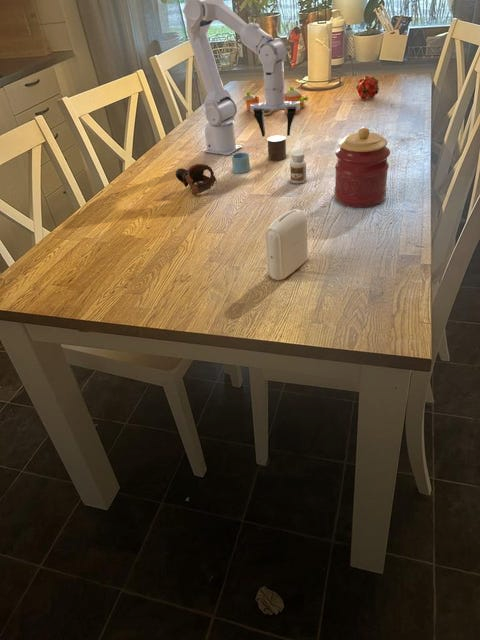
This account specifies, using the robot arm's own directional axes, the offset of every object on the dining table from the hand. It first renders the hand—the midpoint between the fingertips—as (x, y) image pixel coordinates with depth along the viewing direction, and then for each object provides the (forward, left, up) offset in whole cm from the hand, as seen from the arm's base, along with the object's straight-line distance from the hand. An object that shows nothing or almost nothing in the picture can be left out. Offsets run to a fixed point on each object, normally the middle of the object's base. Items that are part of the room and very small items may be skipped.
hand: (276, 135), depth 152 cm
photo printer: (+35, -56, -7) cm, 66 cm away
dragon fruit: (+1, +71, -7) cm, 71 cm away
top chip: (0, 0, -3) cm, 3 cm away
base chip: (0, 0, -7) cm, 7 cm away
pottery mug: (-9, -30, -7) cm, 32 cm away
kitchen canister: (+35, -18, -7) cm, 40 cm away
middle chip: (0, 0, -5) cm, 5 cm away
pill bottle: (+15, -14, -7) cm, 22 cm away
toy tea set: (-27, +45, -7) cm, 53 cm away
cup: (-5, -13, -7) cm, 16 cm away
